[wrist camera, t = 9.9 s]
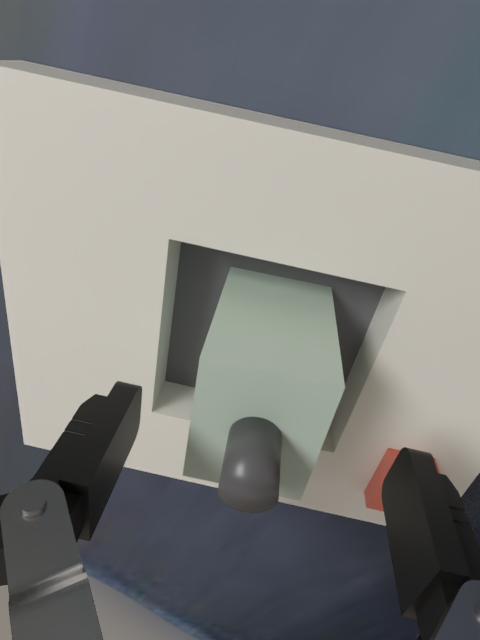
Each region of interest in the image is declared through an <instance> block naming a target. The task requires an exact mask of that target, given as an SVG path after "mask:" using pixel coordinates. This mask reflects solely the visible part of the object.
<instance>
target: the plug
mask: <svg viewBox="0 0 480 640" xmlns="http://www.w3.org/2000/svg"><path fill="white" fill-rule="evenodd" d="M344 390H345V383H344V376H343V368H342V361H341V354H340V346H339V339H338V332H337V324H336V317H335V310H334V302H333V295H332V288H331V287H328V286H323V285H318V284H313V283H308V282H303V281H298V280H294V279H289V278H284V277H279V276H274V275H269V274H264V273H260V272H255V271H250V270H245V269H240V268H235V267H230V270H229V273H228V276H227V279H226V282H225V285H224V288H223V290H222V293H221V296H220V299H219V302H218V305H217V308H216V311H215V314H214V317H213V320H212V323H211V326H210V329H209V331H208V334H207V337H206V340H205V343H204V346H203V349H202V352H201V355H200V358H199V365H198V372H197V379H196V386H195V393H194V400H193V407H192V413H191V420H190V427H189V434H188V441H187V448H186V455H185V462H184V469H183V475H182V476H187V477H192V478H196V479H201V480H206V481H210V482H215V483H219V486H218V494H219V496H220V498H221V500H222V501H223V502H224V503H225V504H226V505H228V506H229V507H231V508H233V509H235V510H238V511H241V512H246V513H260V512H264V511H267V510H269V509H271V508H273V507H274V506H275V505H276V504H277V502H278V499H279V496H280V497H285V498H290V499H294V500H299V501H301V498H302V496H303V493H304V491H305V488H306V486H307V483H308V481H309V478H310V476H311V473H312V471H313V468H314V465H315V463H316V460H317V458H318V455H319V453H320V450H321V448H322V445H323V443H324V440H325V438H326V435H327V433H328V430H329V428H330V425H331V422H332V420H333V417H334V415H335V412H336V410H337V407H338V405H339V402H340V400H341V397H342V395H343V392H344Z"/></svg>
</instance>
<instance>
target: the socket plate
mask: <svg viewBox="0 0 480 640" xmlns="http://www.w3.org/2000/svg"><path fill="white" fill-rule="evenodd" d="M0 264H1V271H2V279H3V287H4V294H5V302H6V310H7V317H8V325H9V332H10V340H11V348H12V355H13V363H14V371H15V378H16V386H17V394H18V401H19V409H20V417H21V424H22V432H23V440H24V444H26V445H30V446H35V447H39V448H43V449H48V450H51V449H52V448H53V446H54V445H55V443H56V442H57V440H58V439H59V437H60V436H61V434H62V433H63V432H64V431H65V428H66V427H67V425H68V423H69V422H70V421H71V420H72V417H73V416H74V414H75V413H76V411H77V410H78V408H79V407H80V405H81V404H82V403H84V402H85V401H86V400H88V399H89V398H91V397H92V396H93V395H95V394H98V395H103V396H108V394H109V393H110V391H111V389H112V388H113V386H114V384H115V383H116V382H117V381H121V382H125V383H129V384H134V385H138V386H142V401H141V415H140V425H139V429H138V433H137V436H136V439H135V442H134V444H133V446H132V448H131V451H130V453H129V455H128V457H127V459H126V462H125V464H124V466H123V467H128V468H132V469H136V470H141V471H145V472H150V473H154V474H159V475H163V476H167V477H172V478H176V479H181V480H185V481H190V482H194V483H198V484H203V485H207V486H212V487H216V488H218V486H219V483H215V482H210V481H206V480H201V479H196V478H192V477H187V476H182V475H183V469H184V462H185V455H186V448H187V441H188V434H189V427H190V420H191V413H192V407H193V400H194V393H195V386H196V379H197V372H198V365H199V358H200V355H201V352H202V349H203V346H204V343H205V340H206V337H207V334H208V331H209V329H210V326H211V323H212V320H213V317H214V314H215V311H216V308H217V305H218V302H219V299H220V296H221V293H222V290H223V288H224V285H225V282H226V279H227V276H228V273H229V270H230V267H235V268H240V269H245V270H250V271H255V272H260V273H264V274H269V275H274V276H279V277H284V278H289V279H294V280H298V281H303V282H308V283H313V284H318V285H323V286H328V287H331V288H332V295H333V302H334V310H335V317H336V324H337V332H338V339H339V346H340V354H341V361H342V368H343V376H344V383H345V390H344V392H343V395H342V397H341V400H340V402H339V405H338V407H337V410H336V412H335V415H334V417H333V420H332V422H331V425H330V428H329V430H328V433H327V435H326V438H325V440H324V443H323V445H322V448H321V450H320V453H319V455H318V458H317V460H316V463H315V465H314V468H313V471H312V473H311V476H310V478H309V481H308V483H307V486H306V488H305V491H304V493H303V496H302V498H301V501H299V500H294V499H290V498H285V497H280V496H279V499H278V502H283V503H287V504H291V505H296V506H300V507H305V508H309V509H314V510H318V511H322V512H327V513H331V514H336V515H340V516H345V517H349V518H353V519H358V520H362V521H367V522H371V523H376V524H380V525H384V526H386V521H385V515H384V510H383V504H382V485H383V481H384V478H385V476H386V475H387V473H388V471H389V469H390V468H391V466H392V464H393V462H394V461H395V459H396V457H397V455H398V454H399V452H400V450H401V449H402V448H403V447H406V448H411V449H415V450H420V451H424V452H428V453H431V454H432V456H433V458H434V461H435V464H436V467H437V471H438V473H440V474H444V475H447V477H448V478H449V479H450V481H451V482H452V484H453V485H454V486H455V488H456V489H457V490H458V492H459V495H460V497H462V495H463V494H464V493H465V491H466V490H467V489H468V487H469V486H470V485H471V483H472V482H473V481H474V479H475V478H476V477H477V475H478V474H479V473H480V161H479V160H475V159H470V158H465V157H461V156H456V155H452V154H447V153H443V152H438V151H433V150H429V149H424V148H420V147H415V146H411V145H406V144H402V143H397V142H392V141H388V140H383V139H379V138H374V137H370V136H365V135H361V134H356V133H351V132H347V131H342V130H338V129H333V128H329V127H324V126H319V125H315V124H310V123H306V122H301V121H297V120H292V119H288V118H283V117H278V116H274V115H269V114H265V113H260V112H256V111H251V110H247V109H242V108H237V107H233V106H228V105H224V104H219V103H215V102H210V101H205V100H201V99H196V98H192V97H187V96H183V95H178V94H174V93H169V92H164V91H160V90H155V89H151V88H146V87H142V86H137V85H133V84H128V83H123V82H119V81H114V80H110V79H105V78H101V77H96V76H91V75H87V74H82V73H78V72H73V71H69V70H64V69H60V68H55V67H50V66H46V65H41V64H37V63H32V62H28V61H18V60H0Z"/></svg>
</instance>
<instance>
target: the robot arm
mask: <svg viewBox="0 0 480 640" xmlns="http://www.w3.org/2000/svg"><path fill="white" fill-rule="evenodd" d="M141 401H142V386H138V385H134V384H129V383H125V382H121V381H117V382H116V383H115V384H114V386H113V388H112V389H111V391H110V393H109V394H108V396H103V395H98V394H95V395H93V396H92V397H91V398H89V399H88V400H86V401H85V402H84V403H82V404H81V405H80V407H79V408H78V410H77V411H76V413H75V414H74V416H73V417H72V420H71V421H70V422H69V423H68V425H67V427H66V428H65V431H64V432H63V433H62V434H61V436H60V437H59V439H58V440H57V442H56V443H55V445H54V446H53V448H52V449H51V451H50V453H49V454H48V456H47V457H46V459H45V460H44V462H43V463H42V465H41V466H40V468H39V469H38V471H37V472H36V474H35V475H34V477H33V478H32V479H31V480H30V481H28V482H26V483H23V484H21V485H19V486H18V487H16V488H15V489H13V490H12V491H11V492H10V493H8V494H4V495H0V586H2V585H8V590H9V615H10V624H11V633H12V640H103V637H102V632H101V628H100V624H99V620H98V616H97V612H96V608H95V605H94V600H93V597H92V592H91V588H90V584H89V581H88V577H87V574H86V571H85V570H84V569H83V567H82V564H81V560H80V556H79V552H78V548H77V544H76V543H77V541H78V539H83V540H87V541H90V540H91V537H92V535H93V533H94V531H95V528H96V526H97V524H98V522H99V520H100V517H101V515H102V513H103V511H104V508H105V506H106V504H107V502H108V500H109V497H110V495H111V493H112V491H113V488H114V486H115V484H116V482H117V479H118V477H119V475H120V473H121V471H122V468H123V466H124V464H125V462H126V459H127V457H128V455H129V453H130V451H131V448H132V446H133V444H134V442H135V439H136V436H137V433H138V429H139V425H140V415H141ZM382 504H383V510H384V515H385V521H386V527H387V533H388V539H389V545H390V551H391V556H392V562H393V568H394V574H395V580H396V586H397V592H398V598H399V603H400V609H401V615H402V616H403V617H407V618H412V619H416V620H417V621H418V626H419V632H418V634H417V635H416V636H415V638H414V640H480V552H479V549H478V546H477V543H476V540H475V537H474V534H473V532H472V529H471V527H469V524H470V523H469V520H468V517H467V514H466V513H465V512H464V510H465V509H464V506H463V503H462V500H461V497H460V495H459V492H458V490H457V489H456V488H455V486H454V485H453V484H452V482H451V481H450V479H449V478H448V477H447V475H444V474H440V473H438V471H437V467H436V464H435V461H434V458H433V456H432V454H431V453H428V452H424V451H420V450H415V449H411V448H406V447H403V448H402V449H401V450H400V452H399V454H398V455H397V457H396V459H395V461H394V462H393V464H392V466H391V468H390V469H389V471H388V473H387V475H386V476H385V478H384V481H383V485H382Z"/></svg>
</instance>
